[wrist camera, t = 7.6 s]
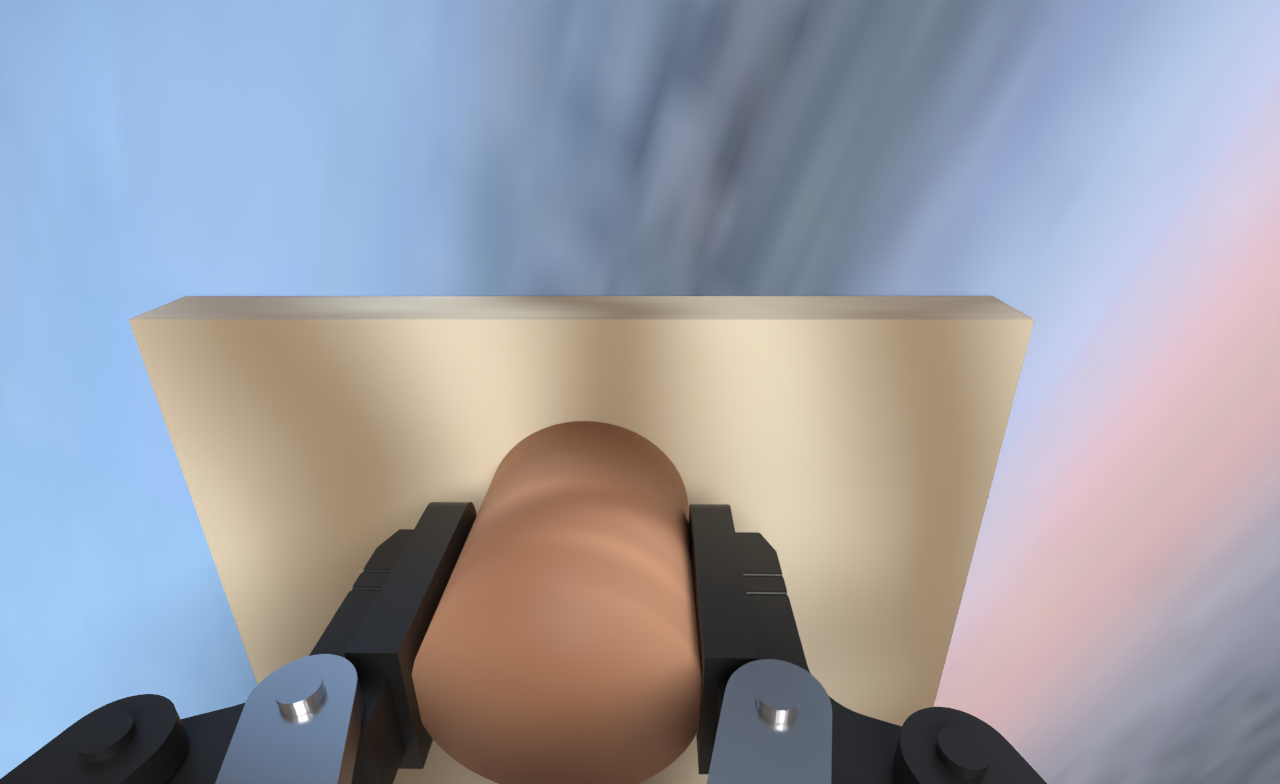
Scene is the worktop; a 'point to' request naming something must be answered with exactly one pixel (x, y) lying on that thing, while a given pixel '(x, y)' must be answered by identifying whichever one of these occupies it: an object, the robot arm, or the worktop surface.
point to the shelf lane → (615, 394)
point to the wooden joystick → (569, 617)
